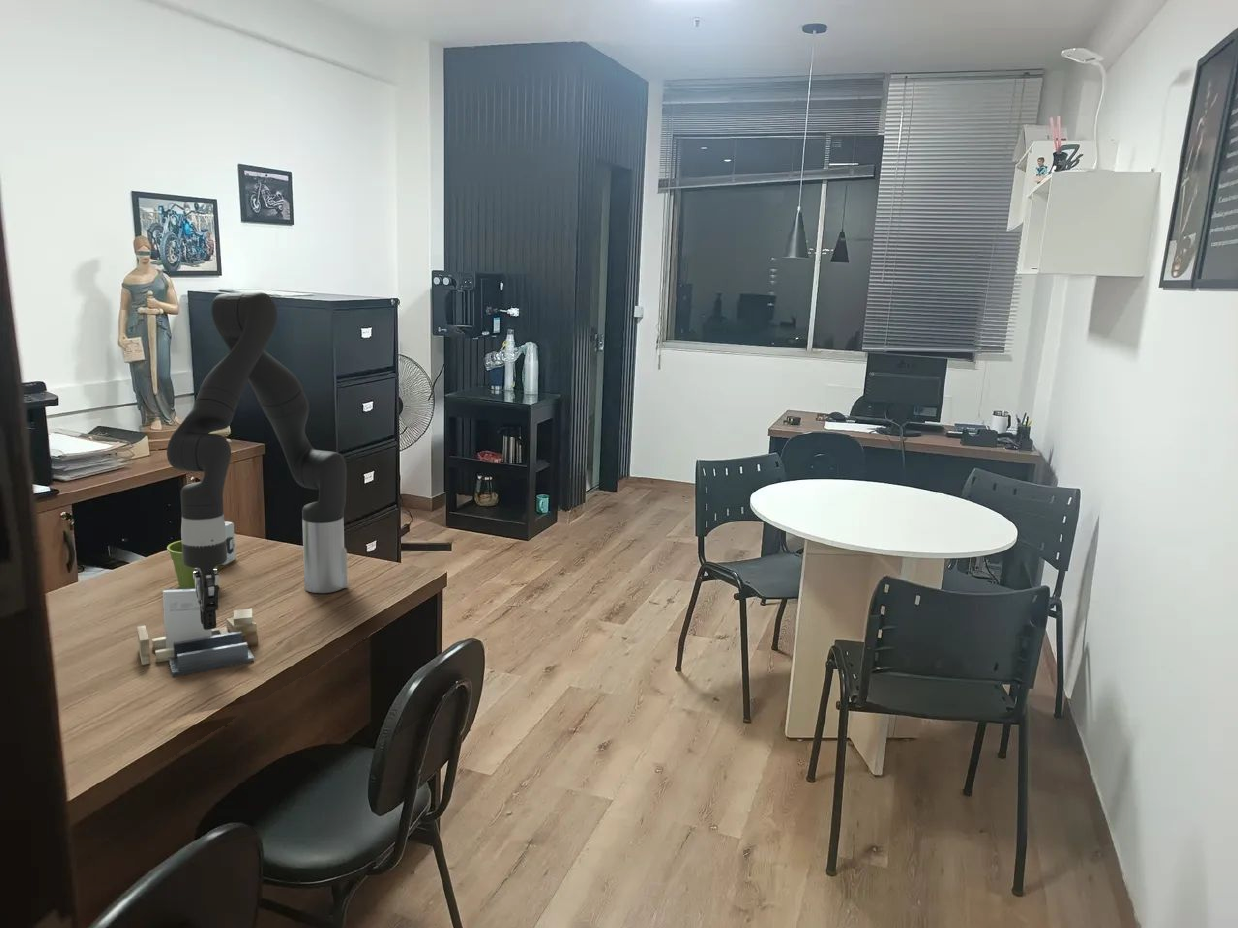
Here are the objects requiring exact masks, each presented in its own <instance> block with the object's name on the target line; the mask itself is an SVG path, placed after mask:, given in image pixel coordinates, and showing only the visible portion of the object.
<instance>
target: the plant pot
mask: <svg viewBox="0 0 1238 928" xmlns="http://www.w3.org/2000/svg"><path fill="white" fill-rule="evenodd" d="M166 550H167V551H168V552H169V554H170V558H171V560H172V561H173V567H174V571H175V574H176V578H177V583H178V589H195V581H194V578H193V572H194V570H195V568H190V567H187V566H185V565H184V564H183V557H182V539H181V540H178V541H174V542H172V543H169V544H168V545H167V547H166ZM218 567H219V565H218V566H216V567H215V568H214V569H216V571H217V572H218Z"/></svg>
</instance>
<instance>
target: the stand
mask: <svg viewBox="0 0 1238 928" xmlns="http://www.w3.org/2000/svg"><path fill="white" fill-rule="evenodd" d="M173 646H174V657H171V658H168V665H169V668H170V672H171V675H172V677H178V676H184V675H190V674H195V673H200V672H205V671H210V670H215V669H220V668H221V669H222V668H227V667H232V666H236V665H237V666H238V665H242V664H249V663H253V662H255V657H254V655H253V653H252V652H251V649H250V648H249V647H250V646H248V645H247V642H244V643H242V632H241V631H239V632H233V633H227V634H221V635H215V636H209V637H203V638H197V639H191V640H185V641H179V642H173Z"/></svg>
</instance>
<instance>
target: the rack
mask: <svg viewBox="0 0 1238 928" xmlns="http://www.w3.org/2000/svg"><path fill="white" fill-rule="evenodd" d="M136 629H137V643H138V645H137V646H138V654H139V658H140V663H141V665H142V666H144V665H151V653H150V639H149V635H148V631H147V627H146V625H139V626H137V627H136ZM227 633H228V629H227V626H224V627H216V628H215V629H212V636H215V635H221V634H227ZM151 640H152V641H151V642H152V644H151V646H152V651H154V653H155V662H156V663H160V662H162V663H163V662H167V661H168V662H169V660H168V658H171V657H174V647H172V648H166V637H165V636H161V637H156V638H155V637H154V638H151Z"/></svg>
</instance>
